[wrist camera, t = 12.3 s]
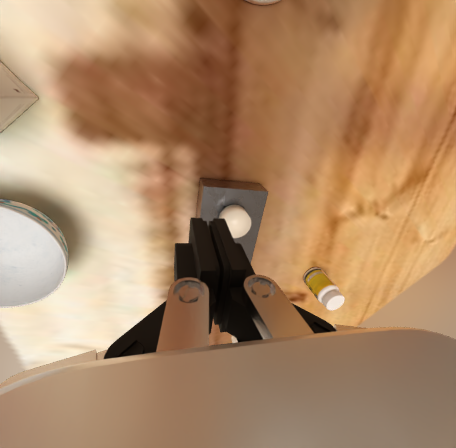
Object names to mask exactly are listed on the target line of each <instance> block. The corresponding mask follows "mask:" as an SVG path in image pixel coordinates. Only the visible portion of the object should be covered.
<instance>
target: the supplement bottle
mask: <svg viewBox="0 0 456 448" xmlns="http://www.w3.org/2000/svg"><path fill="white" fill-rule="evenodd" d="M303 279H304V282H305V283H306V285H307V286H308V287H309V289H310V290H311V291H312V293H313V294H314V295H315V297H316V298H317V299H318V301H319V302H321V303H323V305H324V306H325V307H326V308H327V309H328V310H335V309H338V308H339V307H340V306H341V305H342V304H343V303H344V300H345V299H344V297H343V295H342V294H341V293H340V292H339V289H338V287H337V286H336V285H335V284H334V283H333V281H332V280H331V279H330V278H329V277H328V276H327V275H326V274H325V273H324V271H323V270H322V269H321V268H318V267H314V268H311V269H309V270H308V271H307V272H306V273H305V275H304V278H303Z"/></svg>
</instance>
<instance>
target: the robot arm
mask: <svg viewBox="0 0 456 448" xmlns="http://www.w3.org/2000/svg"><path fill="white" fill-rule="evenodd" d="M245 1H248V2H250V3H253V4H258V5H268V4H274V3H276V2H278V1H281V0H245ZM174 279H175V282H174V283H173V284H172V285H171V286H170V289H169V292H168V297H167V300H166V301H165V302H164V303H163V304H161V305H160V306H159V307H158V308H156V309H155V310H154V311H153V312H151V313H150V314H149V315H148V316H146V317H145V318H144V319H143V320H141V321H140V322H139V323H138V324H136V325H135V326H134V327H133V328H131V329H130V330H129V331H127V332H126V333H125V334H124V335H122V336H121V337H120V338H119V339H117V340H116V341H115V342H114V343H113V344H112V345H111V346H110V347H109V348H108V350H105V351H102V352H98V353H97V352H96V350H93V351H90V352H87V353H83V354H80V355H77V356H73V357H70V358H66V359H63V360H60V361H56V362H53V363H50V364H46V365H43V366H40V367H36V368H33V369H30V370H26V371H23V372H21V373H18V374H16V375H14V376H12V377H10V378H8V379H7V380H6V381H4V382H3V383H1V384H0V448H456V339H454V338H451V337H449V336H446V335H443V334H439V333H436V332H432V331H428V330H424V329H416V328H408V327H380V328H361V327H353V326H344V325H336V324H335V325H334V327H333V326H332V325H331V324H329V323H328V322H326V321H325V320H323V319H321V318H319V317H317V316H315V315H313V314H311V313H310V312H308V311H306V310H304V309H302V308H300V307H298V306H296V305H294V304H292V303H291V302H290V301H289V299H288V298H287V297H286V295H285V294H284V293H283V291H282V290H281V289H280V287H279V286H278V285H277V284H276V282H275V281H274V280H272V279H270V278H269V277H266V276H263V275H255V273H254V270H253V268H252V266H251V264H250V262H249V260H248V258H247V255H246V253H245V251H244V249H243V247H242V245H241V244H240V243H235V242H234V239H233V237H232V235H231V232H230V230H229V228H228V225H227V223H226V221H225V219H224V218H213V221H209V224H208V225H207V221H203V219H202V218H191V220H190V232H189V243H175V257H174ZM213 319H214V323H215V325H218V324H219V328H220V332H228V333H229V334H231V335H232V343H229V344H221V345H212V346H209V334H210V333H211V327H212V321H213Z"/></svg>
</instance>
